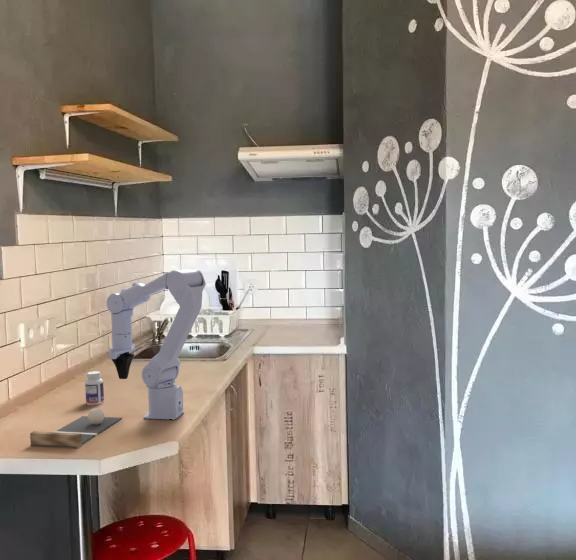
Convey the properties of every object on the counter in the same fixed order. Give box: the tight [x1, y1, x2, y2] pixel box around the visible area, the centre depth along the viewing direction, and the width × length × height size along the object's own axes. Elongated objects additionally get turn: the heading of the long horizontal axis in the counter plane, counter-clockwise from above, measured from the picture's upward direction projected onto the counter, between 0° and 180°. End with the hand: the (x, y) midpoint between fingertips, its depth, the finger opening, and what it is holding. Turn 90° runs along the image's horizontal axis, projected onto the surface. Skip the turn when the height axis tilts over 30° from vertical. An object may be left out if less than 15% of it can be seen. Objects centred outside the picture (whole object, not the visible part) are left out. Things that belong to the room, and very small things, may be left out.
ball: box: [87, 407, 105, 425], centre depth 177 cm, size 4×4×4 cm
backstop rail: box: [29, 430, 83, 449], centre depth 160 cm, size 13×2×3 cm, turn 79°
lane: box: [33, 415, 123, 449], centre depth 172 cm, size 12×25×1 cm, turn 169°
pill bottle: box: [84, 370, 105, 406], centre depth 200 cm, size 5×5×10 cm
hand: (123, 378), depth 192 cm, fingers closed
